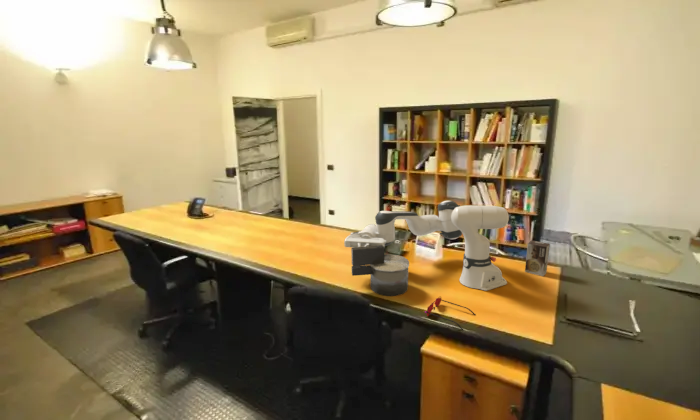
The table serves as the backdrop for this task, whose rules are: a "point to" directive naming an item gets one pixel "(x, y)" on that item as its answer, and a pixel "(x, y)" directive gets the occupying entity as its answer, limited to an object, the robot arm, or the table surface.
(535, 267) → the coffee box
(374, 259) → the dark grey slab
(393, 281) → the pot
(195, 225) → the table surface
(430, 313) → the glasses
